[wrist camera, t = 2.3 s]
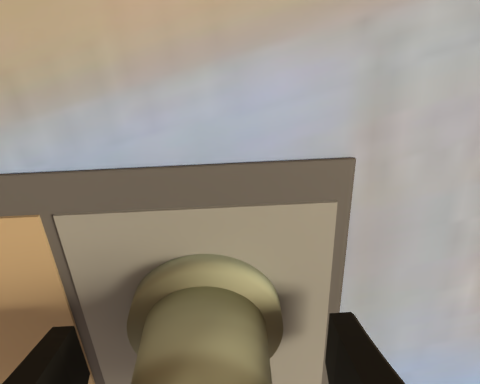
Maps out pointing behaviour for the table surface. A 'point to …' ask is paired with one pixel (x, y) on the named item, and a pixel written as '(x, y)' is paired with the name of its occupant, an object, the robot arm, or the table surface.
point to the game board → (169, 251)
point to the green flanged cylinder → (204, 323)
